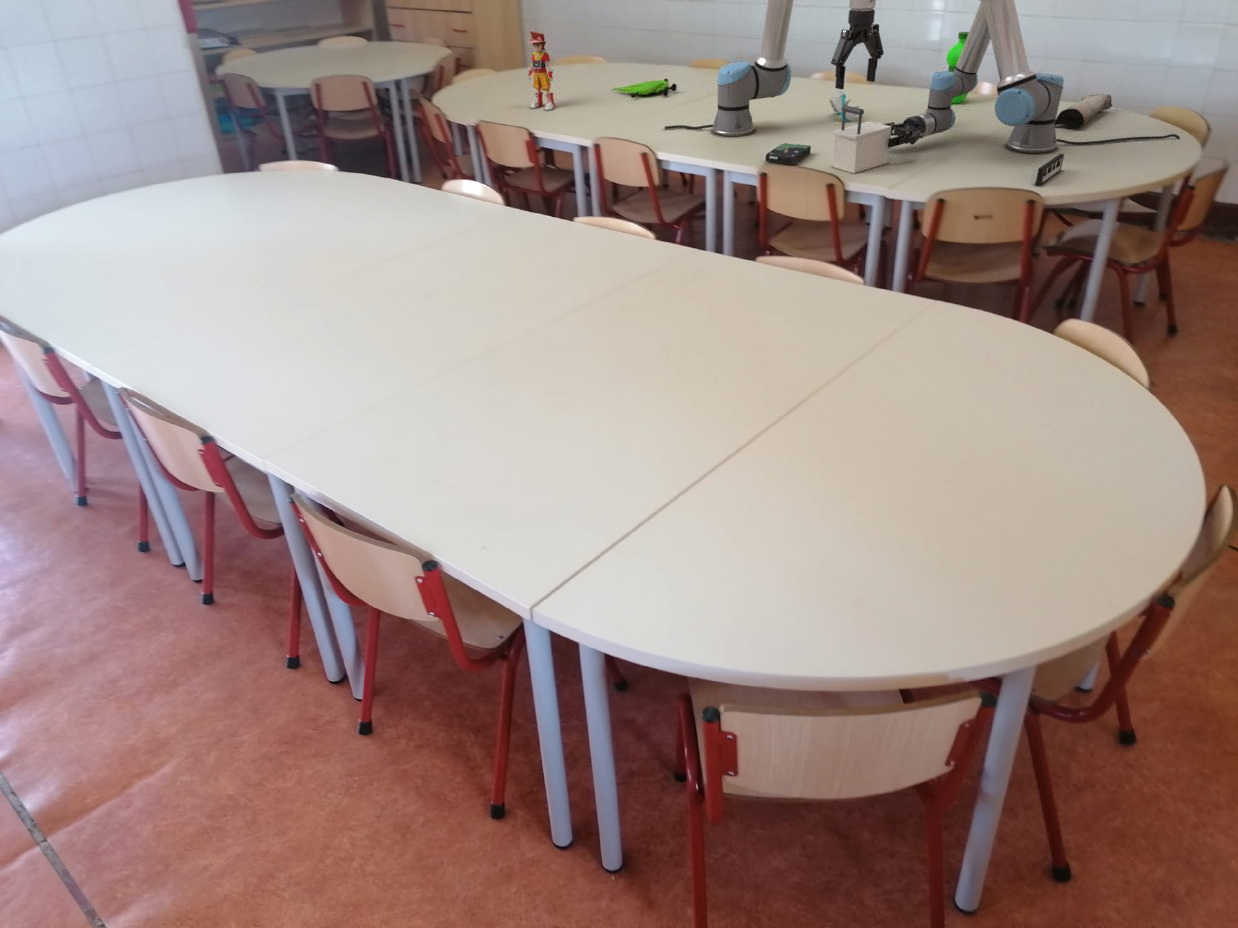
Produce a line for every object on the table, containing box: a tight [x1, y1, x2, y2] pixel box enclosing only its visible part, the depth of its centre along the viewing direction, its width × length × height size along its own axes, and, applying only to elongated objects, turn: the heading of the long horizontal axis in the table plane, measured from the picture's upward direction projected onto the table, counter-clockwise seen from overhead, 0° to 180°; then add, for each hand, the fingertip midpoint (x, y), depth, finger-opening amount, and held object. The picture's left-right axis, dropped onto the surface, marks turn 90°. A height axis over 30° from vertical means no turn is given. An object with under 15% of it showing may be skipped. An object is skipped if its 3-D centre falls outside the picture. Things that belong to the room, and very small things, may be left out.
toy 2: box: [612, 78, 677, 99], centre depth 396 cm, size 28×5×30 cm
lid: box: [833, 105, 892, 140], centre depth 286 cm, size 16×9×9 cm, turn 124°
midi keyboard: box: [1035, 153, 1065, 186], centre depth 273 cm, size 18×1×5 cm, turn 138°
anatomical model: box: [829, 90, 864, 122], centre depth 342 cm, size 15×10×10 cm
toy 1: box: [527, 31, 556, 111], centre depth 374 cm, size 12×9×30 cm
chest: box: [832, 130, 892, 174], centre depth 292 cm, size 16×9×11 cm, turn 124°
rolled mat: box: [1055, 93, 1113, 130], centre depth 324 cm, size 30×9×10 cm
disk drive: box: [765, 142, 812, 165], centre depth 304 cm, size 10×3×15 cm
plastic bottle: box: [946, 31, 969, 104], centre depth 348 cm, size 10×10×25 cm
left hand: (855, 85), depth 278 cm, fingers open, 13 cm apart
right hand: (873, 139), depth 294 cm, fingers open, 13 cm apart
